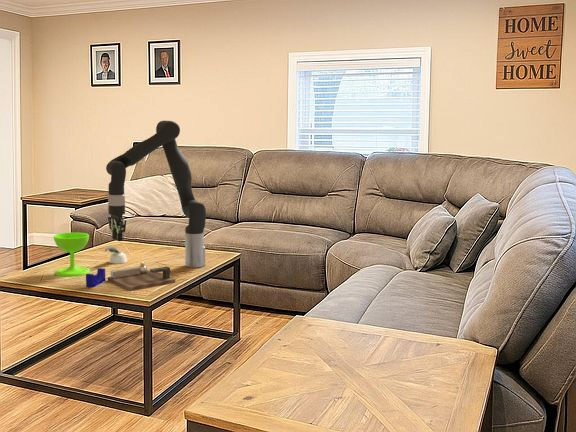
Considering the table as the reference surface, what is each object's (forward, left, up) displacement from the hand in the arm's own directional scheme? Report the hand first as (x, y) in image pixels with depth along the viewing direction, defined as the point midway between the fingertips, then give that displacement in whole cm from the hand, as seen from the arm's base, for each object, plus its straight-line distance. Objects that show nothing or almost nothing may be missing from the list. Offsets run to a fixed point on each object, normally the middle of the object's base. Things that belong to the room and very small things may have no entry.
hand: (117, 240), depth 293 cm
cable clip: (+15, +6, -18) cm, 24 cm away
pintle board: (-4, +15, -17) cm, 23 cm away
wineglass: (+14, -19, -18) cm, 29 cm away
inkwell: (-10, -24, -18) cm, 31 cm away
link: (-2, +7, -16) cm, 17 cm away
